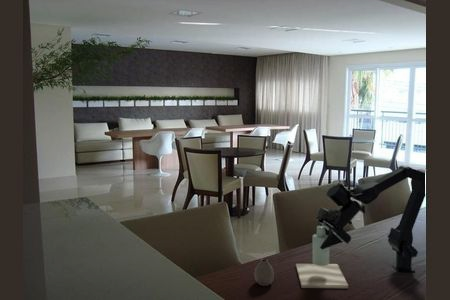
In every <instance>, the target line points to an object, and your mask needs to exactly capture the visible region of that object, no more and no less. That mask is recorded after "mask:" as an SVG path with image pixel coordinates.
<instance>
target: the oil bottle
mask: <svg viewBox="0 0 450 300" xmlns="http://www.w3.org/2000/svg"><path fill="white" fill-rule="evenodd" d="M327 237H328V235H326V234H325V227H324V226H319V225H317V226H316V233H314V234H312V264H315V265H319V266H325V265H328V264H330V247H328V248H325V249H323V250H322V249H321V248H320V247H321V245H322V244H323V242H324V241H325V240H326V238H327Z"/></svg>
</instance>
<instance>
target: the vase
mask: <svg viewBox="0 0 450 300" xmlns="http://www.w3.org/2000/svg"><path fill="white" fill-rule="evenodd" d="M274 278H275V272H274V269H273V267H272V265H271V264H270V263H269V261H268V259H266V258H262V259H260V261H259V263H257V265H256V267H255V269H254V279H255V281H256V283H257V284H258V285H259V286H261V287H262V286H263V287H267V286H270V285H271V284H272V283H273V281H274Z"/></svg>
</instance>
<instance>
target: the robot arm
mask: <svg viewBox="0 0 450 300" xmlns="http://www.w3.org/2000/svg"><path fill="white" fill-rule="evenodd" d="M407 178H409V179H410V186H411V187H410V188H411V192H410V194H409V196H408V200H407V202H406V205H405V207H404V210H403V213H402V216H401V218H400V220H399V224H398V225H397V226H396V227H395V228H393V227H391V228H390V231H389V233H388V235H387V238H388V239H387V241H388V245H390V247H391V249H392V250H393V251H394V252H395V263H392V267H393V268H394V269H395V270H396V271H397V272H400V273H401V272H404V273H405V272H408V273H413V272H415V273H416V270H415V268H414V267H413V266H412V265H413V258H416V257H417V256H418V254H419V251H418V250H417V249H416V248H415V247H414V246H413V243H414V237H413V229H414V226H415V223H416V220H417V218H418V216H419V213H420V211H421V208H422V206H423V203H424V200H425V198H426V195H425V169H422V168H420V169H419V168H418V169H415V168H412V167H410V166H407V165H400V166H398V167H397V168H396V169H394V170H392V171H391V172H388V173H386V174H385V175H383V176H382V177H379V178H377V179H376V180H374V181H372V182H367V183H366V182H365V183H363V184H360V185H357V186H355V187H354V188H353V189H352V188H351V189H347V188H346V187H345V186H344V185H343V183H341V182H338V184H336V185H333V186H332V187H329V189H328V190H327V192H326V196H327V197H328V198H329V200H330V201H332V202H333V203H334V204H335V205H336V206H337V207H340V208H339V209H334V210H332V209H326V208H325V207H320V208H319V209H318V212H317V214H316V215H317V217H316V218H315V220H316V221H318V222H317V224H318V225H317V226H324V227H325V234H326V235H328V237H327V238H326V240H325V241H324V242H323V244H322V245H321V247H320V248H321V249H322V250H323V249H325V248H328V247H329V248H330V247H332V246H335V245H338V244H343V243H346V245H348V244H350V242H351V241H352V236H351V235H350V234H349V233H348V232H347V231H346V230H345V228H346V227H347V226H348V225H350V226H351V225H352V223H353V222H352V220H353V219H354V218H355V217H356V215H358V214H359V212H360V213H363V214H364V215H365V214H366V205H369V204H372V203H373V202H374V201H376V200H377V199H378V197H379V195H380V194H381V193H383V192H384V191H386V190H388V189H390V188H391V187H393V186H395V185H397V184H399V183H400V182H402V181H405V180H406V179H407ZM352 199H354V200H352ZM359 202H360V203H362V204H360V203H359Z"/></svg>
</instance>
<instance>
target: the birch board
mask: <svg viewBox="0 0 450 300" xmlns="http://www.w3.org/2000/svg"><path fill="white" fill-rule="evenodd" d="M295 266H296V272H297V276H298V278H299V279H298V280H299V282H300V287H301V288H302V289H349V284H348V282H347V280H346V278H345V276H344V274H343V273H342V270H341V268H340V266H339V265H338V264H337V263H329V264H328V265H325V266H319V265H315V264H314V263H295Z"/></svg>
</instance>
